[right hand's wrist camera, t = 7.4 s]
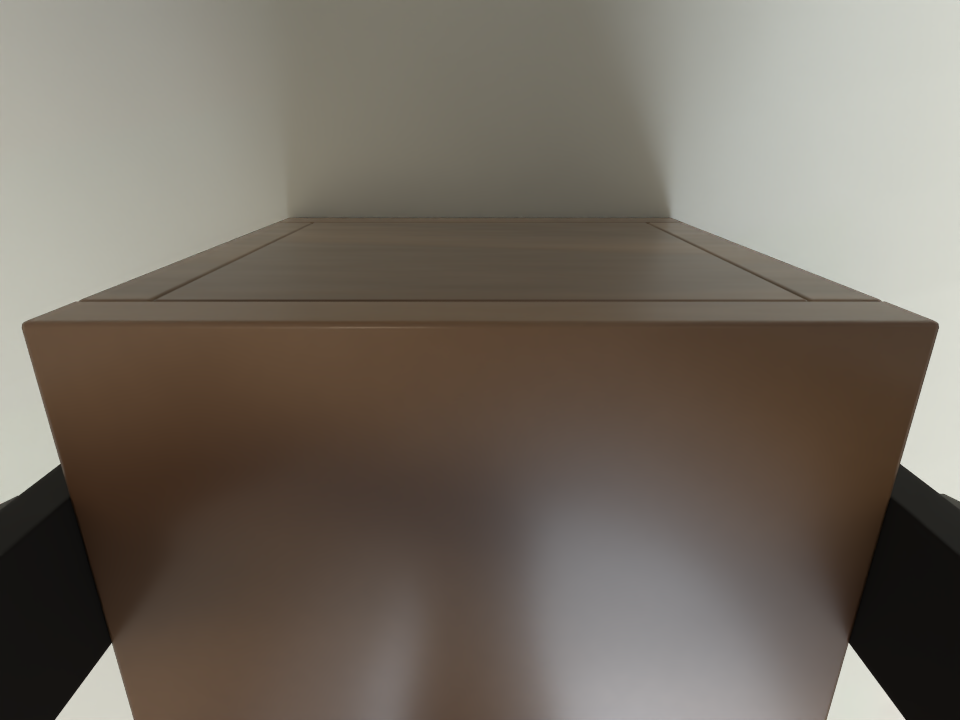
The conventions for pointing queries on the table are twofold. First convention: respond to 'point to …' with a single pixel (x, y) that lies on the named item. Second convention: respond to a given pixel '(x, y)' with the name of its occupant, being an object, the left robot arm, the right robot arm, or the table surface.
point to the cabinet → (480, 470)
